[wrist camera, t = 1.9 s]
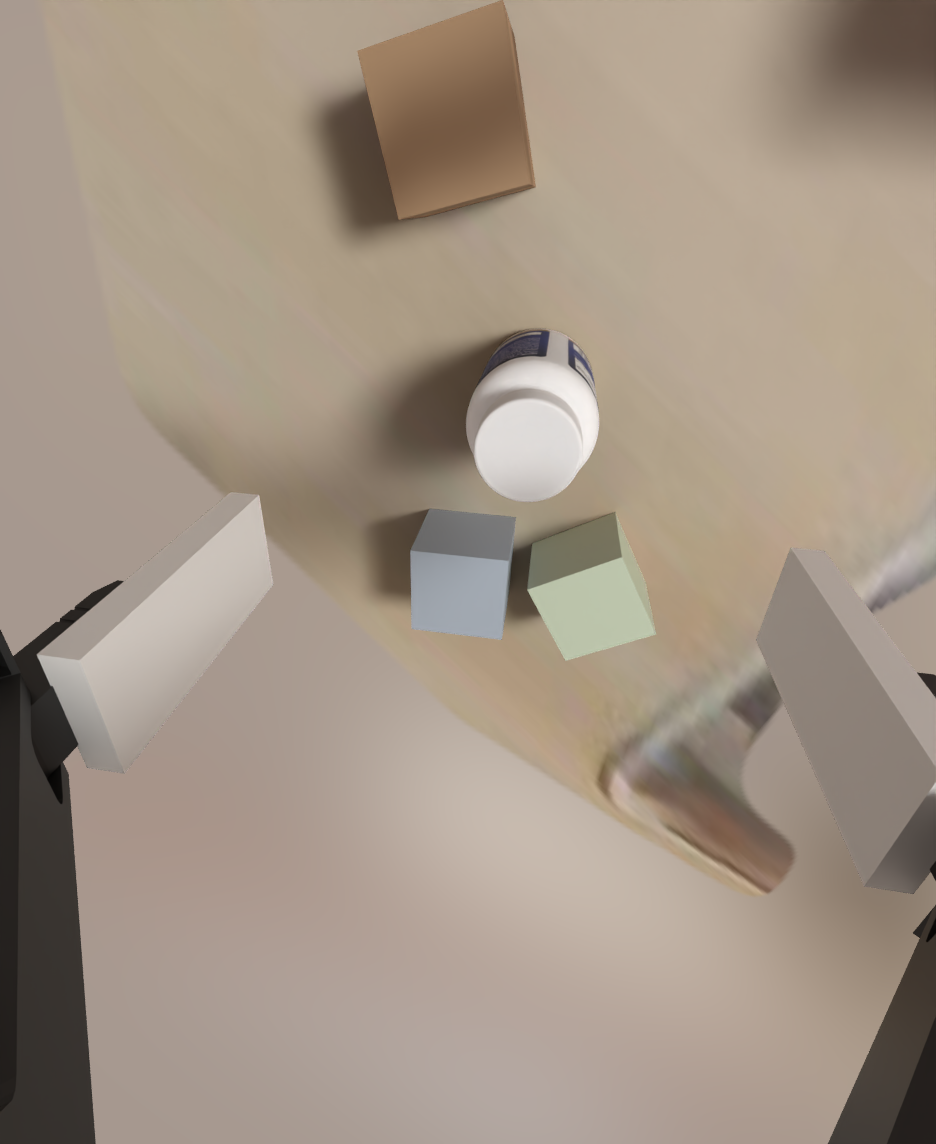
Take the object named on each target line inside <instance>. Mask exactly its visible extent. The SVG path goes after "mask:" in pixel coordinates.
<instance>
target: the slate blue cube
mask: <svg viewBox="0 0 936 1144" xmlns="http://www.w3.org/2000/svg"><path fill="white" fill-rule="evenodd" d="M515 521H516V517H509V516H499V515H489V514H478V513H468V512H458V511H448V510H438V509H429V511H428V513H427V515H426V517H425V520H424V522H423V524H422V526H421V528H420V531H419V533H418V535H417V537H416V539H415V542H414V544H413V546H412V548H411V550H410V558H411V619H412V629H416V630H425V631H433V632H441V633H450V634H458V635H466V636H475V637H483V638H492V639H500V640H502V635H503V628H504V621H505V615H506V608H507V602H508V595H509V588H510V577H511V565H512V554H513V543H514V532H515Z"/></svg>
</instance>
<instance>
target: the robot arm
mask: <svg viewBox="0 0 936 1144" xmlns="http://www.w3.org/2000/svg"><path fill="white" fill-rule="evenodd" d="M272 586H273V579H272V573H271V567H270V560H269V555H268V548H267V542H266V535H265V529H264V523H263V517H262V510H261V504H260V498H259V495H256V494H246V493H236V492H230V493H229V494H228V495H227V496H225V497H224V498H223V499H222V500H221V501H220V502H218V503H217V504H216V505H215V506H214V507H212V508H211V509H210V510H209V511H208V512H206V514H204V515H203V516H202V517H200V518H199V519H198V520H197V521H196V522H195V523H193V524H192V525H191V526H190V527H188V528H187V529H186V530H185V531H184V532H182V533H181V534H180V535H179V536H178V537H176V538H175V539H174V540H173V541H172V542H171V543H169V544H168V545H167V546H166V547H165V548H163V549H162V550H161V551H160V552H159V553H157V554H156V555H155V556H154V557H153V558H151V559H150V560H149V561H148V562H147V563H146V564H144V565H143V566H142V567H141V568H139V569H138V570H137V571H136V572H135V573H133V574H132V575H131V576H130V577H129V578H127V580H125V581H116V582H113V583H111V584H109V585H107V586H105V587H103V588H101V589H99V590H97V591H95V592H93V593H91V594H90V595H89V596H88V597H86V598H85V599H84V600H83V601H81V602H80V603H79V604H78V605H76V606H75V609H74V610H70V611H69V612H68V613H67V614H65V615H64V616H63V617H62V618H60V622H55V623H54V624H53V625H52V626H50V627H49V628H48V629H47V630H45V631H44V632H43V633H42V634H40V635H39V636H38V637H37V638H36V639H34V640H33V641H32V642H30V643H29V644H28V645H27V646H25V647H24V648H23V649H22V650H21V651H19V652H18V653H17V654H16V655H14V656H13V655H12V653H11V651H10V649H9V647H8V645H7V643H6V641H5V639H4V636H3V634H2V632H1V630H0V1144H95V1130H94V1116H93V1103H92V1089H91V1075H90V1062H89V1048H88V1035H87V1020H86V1008H85V993H84V979H83V967H82V966H83V965H82V952H81V938H80V924H79V911H78V898H77V884H76V870H75V856H74V844H73V843H74V842H73V829H72V816H71V801H70V788H69V774H68V772H67V770H66V768H65V765H64V763H63V761H64V760H65V759H66V758H67V757H68V755H69V754H70V753H71V752H72V751H73V750H74V749H75V748H76V747H77V746H78V749H79V751H80V753H81V755H82V758H83V760H84V762H85V764H86V767H87V768H92V769H98V770H105V771H111V772H118V773H126V771H127V770H128V769H129V767H130V766H131V765H132V764H133V762H134V761H135V760H136V759H137V757H138V756H139V755H140V753H141V752H142V751H143V750H144V748H145V747H146V746H147V745H148V743H149V742H150V741H151V739H152V738H153V737H154V736H155V734H156V733H157V732H158V731H159V729H160V728H161V727H162V726H163V724H164V723H165V722H166V720H167V719H168V718H169V716H170V715H171V714H172V712H174V710H175V709H176V708H177V706H178V705H179V704H180V703H181V701H182V700H183V699H184V698H185V696H186V695H187V694H188V692H189V691H190V690H191V689H192V687H193V686H194V685H195V684H196V682H197V681H198V680H199V678H200V677H201V676H202V675H203V673H204V672H205V671H206V670H207V668H208V667H209V666H210V664H211V663H212V662H213V661H214V659H215V658H216V657H217V656H218V654H219V653H220V652H221V650H222V649H223V648H224V647H225V645H226V644H227V643H228V642H229V640H230V639H231V638H232V636H233V635H234V634H235V633H236V631H237V630H238V629H239V627H240V626H241V625H242V624H243V622H244V621H245V620H246V619H247V617H248V616H249V615H250V613H251V612H252V611H253V610H254V608H255V607H256V606H257V605H258V603H259V602H260V601H261V600H262V598H263V597H264V596H265V594H266V593H267V592H268V591H269V589H270V588H271V587H272ZM756 641H757V643H758V645H759V648H760V650H761V652H762V655H763V657H764V659H765V661H766V664H767V666H768V668H769V670H770V673H771V675H772V677H773V680H774V682H775V684H776V686H777V689H778V691H779V693H780V696H781V698H782V700H783V702H784V705H785V707H786V709H787V712H788V714H789V716H790V718H791V721H792V723H793V725H794V728H795V730H796V732H797V734H798V737H799V739H800V741H801V744H802V746H803V748H804V750H805V753H806V755H807V757H808V759H809V761H810V764H811V766H812V769H813V771H814V773H815V775H816V778H817V780H818V782H819V785H820V787H821V789H822V791H823V794H824V796H825V798H826V801H827V803H828V805H829V808H830V810H831V812H832V814H833V816H834V819H835V821H836V823H837V826H838V828H839V830H840V833H841V835H842V837H843V840H844V842H845V844H846V846H847V849H848V851H849V853H850V856H851V858H852V860H853V862H854V865H855V867H856V869H857V871H858V874H859V876H860V878H861V881H862V883H863V885H864V887H871V888H877V889H885V890H891V891H897V892H903V893H910V894H914V893H915V891H916V890H917V889H918V888H919V886H920V885H921V884H922V882H923V881H924V880H925V878H926V877H927V876H928V875H929V873H930V872H931V873H932V875H933V877H934V879H935V880H936V676H935V675H933V674H925V673H916V671H915V670H914V669H913V667H912V666H911V665H910V663H909V662H908V661H907V659H906V658H905V657H904V655H903V654H902V653H901V651H900V650H899V649H898V647H897V646H896V645H895V643H894V642H893V641H892V639H891V638H890V637H889V635H888V634H887V633H886V632H885V630H884V629H883V627H882V626H881V625H880V623H879V622H878V621H877V619H876V618H875V617H874V615H873V614H872V613H871V611H870V610H869V609H868V607H867V606H866V605H865V604H864V602H863V601H862V600H861V598H860V597H859V596H858V594H857V593H856V592H855V590H854V589H853V588H852V586H851V585H850V584H849V582H848V581H847V580H846V578H845V577H844V576H843V574H842V573H841V572H840V570H839V569H838V568H837V566H836V565H835V564H834V562H833V561H832V560H831V558H830V557H829V556H828V554H827V553H826V552H825V551H821V550H811V549H801V548H790V551H789V553H788V556H787V559H786V561H785V564H784V567H783V569H782V572H781V575H780V577H779V580H778V583H777V585H776V588H775V591H774V593H773V596H772V599H771V602H770V604H769V607H768V610H767V612H766V615H765V618H764V620H763V623H762V626H761V628H760V631H759V634H758V636H757V639H756ZM913 934H915V935H916V936H918V937H919V938H920V939H919V942H918V944H917V946H916V948H915V950H914V953H913V955H912V957H911V959H910V962H909V964H908V966H907V968H906V971H905V973H904V975H903V978H902V980H901V982H900V984H899V986H898V988H897V991H896V993H895V995H894V997H893V1000H892V1002H891V1004H890V1006H889V1009H888V1011H887V1013H886V1015H885V1017H884V1020H883V1022H882V1024H881V1026H880V1029H879V1031H878V1033H877V1035H876V1038H875V1040H874V1042H873V1044H872V1047H871V1049H870V1051H869V1054H868V1055H867V1058H866V1060H865V1062H864V1065H863V1067H862V1069H861V1071H860V1073H859V1076H858V1078H857V1080H856V1082H855V1084H854V1087H853V1089H852V1091H851V1094H850V1096H849V1098H848V1100H847V1102H846V1105H845V1107H844V1109H843V1111H842V1113H841V1116H840V1118H839V1120H838V1122H837V1125H836V1127H835V1129H834V1131H833V1134H832V1136H831V1138H830V1140H829V1143H828V1144H936V905H935V907H934V908H933V909H932V910H931V911H930V913H929V914H928V915H927V916H926V918H925V919H924V920H923V921H922V922H921V924H920V925H919V926H918V927H917V929H916V930H915V931H914V932H913Z"/></svg>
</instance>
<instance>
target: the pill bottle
mask: <svg viewBox="0 0 936 1144" xmlns="http://www.w3.org/2000/svg"><path fill="white" fill-rule="evenodd" d="M598 430H599V410H598V403H597V397H596V390H595V384H594V378H593V373H592V369H591V366H590V363H589V360H588V358H587V356H586V355H585V353H584V351H583V350H582V349H581V347H580V346H579V345H578V344H577V343H576V342H575V341H573V340H572V339H571V338H569V337H568V336H566V335H565V334H563V333H560V332H558V331H555V330H550V329H529V330H525V331H522V332H519V333H517V334H515V335H513V336H511V337H509V338H508V339H507V340H505V341H504V342H503V343H502V344H501V345H500V346H499V347H498V348H497V349H496V350H495V352H494V353H493V354H492V356H491V357H490V359H489V361H488V363H487V365H486V367H485V370H484V372H483V374H482V376H481V378H480V380H479V382H478V384H477V386H476V389H475V391H474V393H473V395H472V397H471V400H470V404H469V407H468V411H467V417H466V433H467V438H468V443H469V446H470V449H471V451H472V453H473V455H474V459H475V464H476V467H477V469H478V472H479V473H480V475H481V477H482V478H483V480H484V481H485V482H486V484H487V485H488V486H489V487H490V488H491V489H493V490H494V491H495V492H497V493H498V494H500V495H501V496H503V497H506V498H508V499H511V500H514V501H520V502H536V501H541V500H545V499H548V498H550V497H552V496H555V495H557V494H558V493H560V492H561V491H562V490H564V489H565V488H566V487H567V486H568V485H569V484H570V483H571V481H572V480H573V479H574V477H575V476H576V474H577V472H578V471H579V470H580V469H581V467H582V466H583V465H584V464H585V463H586V461H587V460H588V458H589V457H590V455H591V453H592V451H593V449H594V446H595V443H596V440H597V437H598Z"/></svg>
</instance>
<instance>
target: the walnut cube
mask: <svg viewBox="0 0 936 1144" xmlns="http://www.w3.org/2000/svg"><path fill="white" fill-rule="evenodd" d="M357 52H358V56H359V60H360V64H361V68H362V72H363V76H364V80H365V84H366V88H367V93H368V97H369V101H370V105H371V109H372V113H373V117H374V121H375V125H376V129H377V133H378V137H379V142H380V146H381V150H382V154H383V158H384V162H385V166H386V170H387V174H388V178H389V182H390V186H391V191H392V195H393V199H394V203H395V207H396V211H397V215H398V219H399V220H400V219H410V218H421V217H427V216H431V215H434V214H438V213H442V212H446V211H449V210H453V209H457V208H460V207H464V206H468V205H471V204H475V203H479V202H482V201H486V200H490V199H493V198H497V197H501V196H504V195H508V194H512V193H516V192H519V191H523V190H527V189H530V188H534V187H536V185H535V178H534V171H533V164H532V157H531V150H530V143H529V136H528V129H527V122H526V115H525V108H524V101H523V94H522V87H521V80H520V72H519V65H518V58H517V51H516V44H515V37H514V34H513V31H512V27H511V24H510V21H509V18H508V15H507V12H506V8H505V5H504V2H503V0H501V1H498V2H496V3H493V4H490V5H487V6H484V7H481V8H478V9H476V10H473V11H470V12H467V13H464V14H461V15H458V16H456V17H453V18H450V19H447V20H444V21H441V22H438V23H436V24H433V25H430V26H427V27H424V28H421V29H419V30H416V31H413V32H410V33H407V34H404V35H401V36H399V37H396V38H393V39H390V40H387V41H384V42H381V43H379V44H376V45H373V46H370V47H367V48H364V49H361V50H359V51H357Z"/></svg>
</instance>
